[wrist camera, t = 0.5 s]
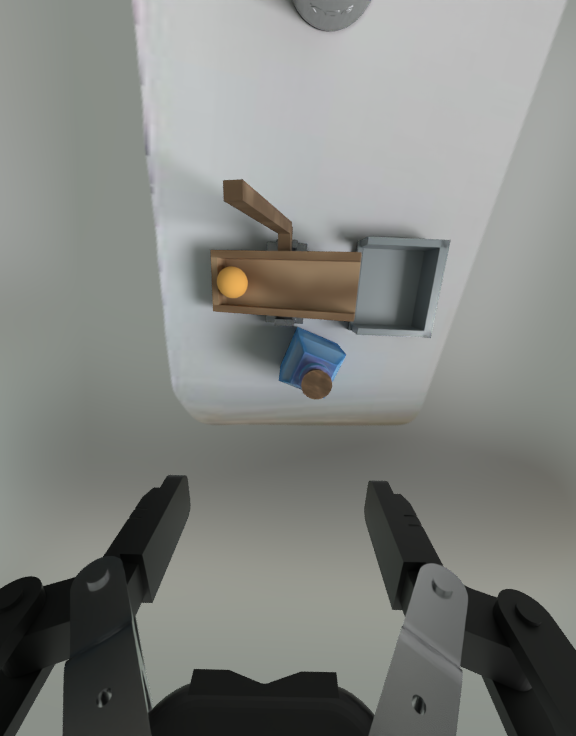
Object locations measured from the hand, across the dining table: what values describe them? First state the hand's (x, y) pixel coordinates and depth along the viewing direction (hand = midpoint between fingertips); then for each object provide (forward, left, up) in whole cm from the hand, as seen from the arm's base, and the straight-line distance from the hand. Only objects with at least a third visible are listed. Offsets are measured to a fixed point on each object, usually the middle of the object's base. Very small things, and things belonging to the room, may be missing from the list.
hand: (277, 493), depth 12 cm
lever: (-10, 0, -25) cm, 27 cm away
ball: (-9, -7, -24) cm, 26 cm away
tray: (-9, +13, -28) cm, 32 cm away
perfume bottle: (+1, +3, -28) cm, 28 cm away
